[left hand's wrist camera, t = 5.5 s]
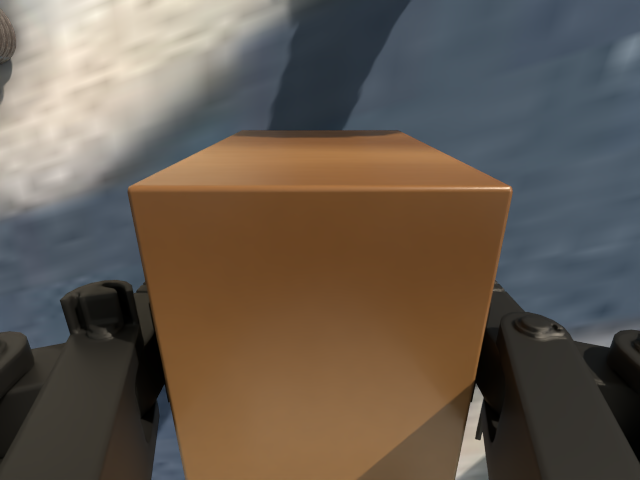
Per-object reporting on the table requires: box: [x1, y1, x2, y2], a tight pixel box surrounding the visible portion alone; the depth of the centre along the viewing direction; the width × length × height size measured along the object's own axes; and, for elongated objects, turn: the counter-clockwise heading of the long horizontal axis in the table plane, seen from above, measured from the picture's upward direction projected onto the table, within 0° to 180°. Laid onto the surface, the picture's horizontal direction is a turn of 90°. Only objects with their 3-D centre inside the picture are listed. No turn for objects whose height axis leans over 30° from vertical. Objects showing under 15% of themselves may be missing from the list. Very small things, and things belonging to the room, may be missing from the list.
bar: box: [128, 130, 513, 480], centre depth 13 cm, size 23×6×8 cm, turn 0°
